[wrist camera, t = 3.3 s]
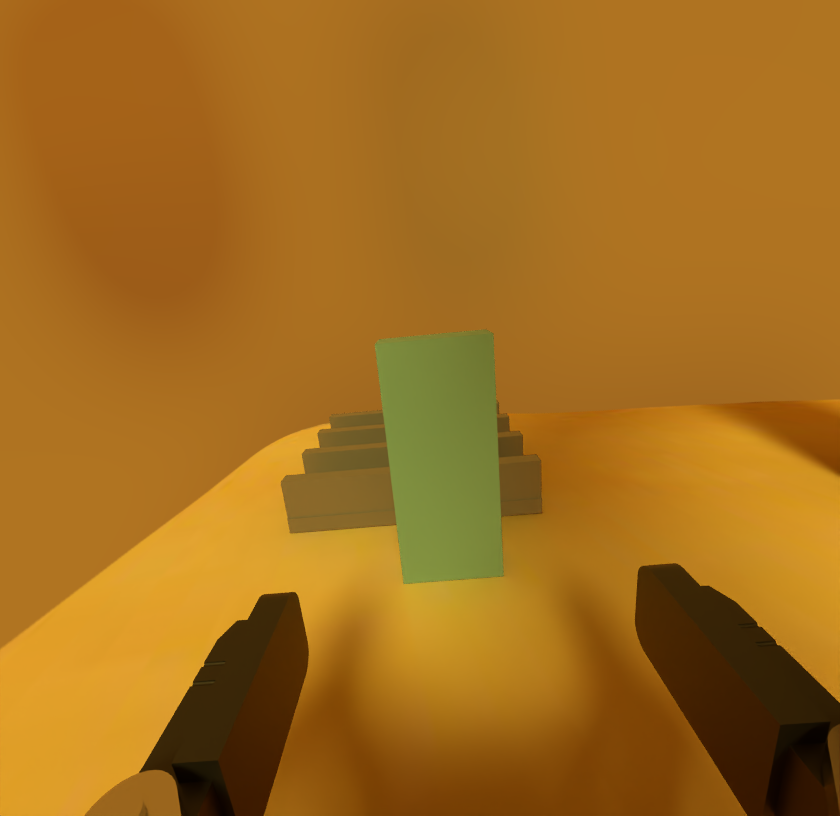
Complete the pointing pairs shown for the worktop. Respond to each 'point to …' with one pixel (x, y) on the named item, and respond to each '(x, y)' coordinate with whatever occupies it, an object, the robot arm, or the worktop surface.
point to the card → (443, 453)
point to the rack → (385, 476)
